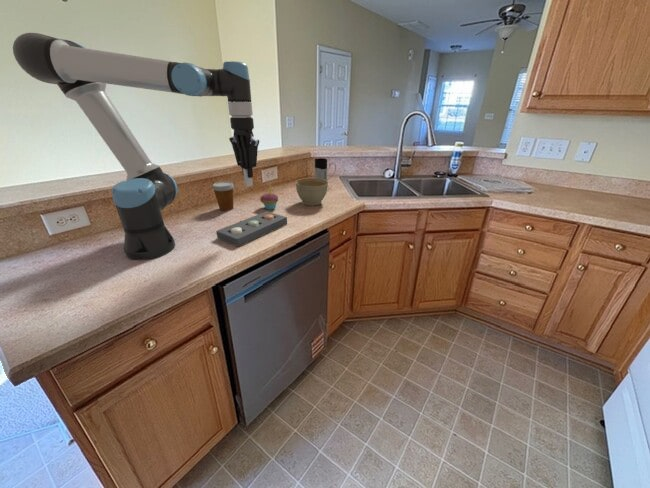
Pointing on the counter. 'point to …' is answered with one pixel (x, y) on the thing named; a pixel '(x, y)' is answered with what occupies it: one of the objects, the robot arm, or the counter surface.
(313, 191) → the planter bowl
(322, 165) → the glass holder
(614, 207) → the counter surface
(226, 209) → the disposable coffee cup
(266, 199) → the cupcake
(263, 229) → the button panel
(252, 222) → the sage button
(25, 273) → the counter surface
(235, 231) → the white rounded piece
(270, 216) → the terracotta button
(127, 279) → the counter surface
